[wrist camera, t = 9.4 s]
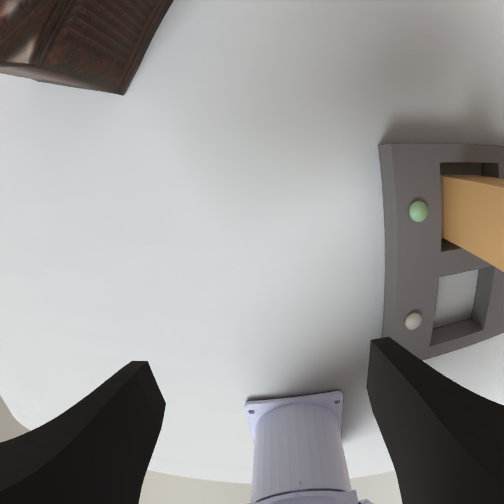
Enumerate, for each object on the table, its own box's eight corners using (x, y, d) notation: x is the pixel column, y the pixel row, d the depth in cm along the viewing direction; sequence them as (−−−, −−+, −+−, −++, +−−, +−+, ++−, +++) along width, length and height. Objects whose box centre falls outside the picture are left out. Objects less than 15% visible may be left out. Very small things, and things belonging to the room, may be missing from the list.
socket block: (493, 321, 19) (507, 333, 17) (380, 353, 20) (389, 371, 18) (506, 147, 15) (525, 148, 13) (377, 144, 16) (393, 143, 14)
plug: (475, 228, 17) (558, 268, 9) (435, 233, 18) (519, 281, 9) (475, 174, 16) (565, 192, 8) (433, 175, 16) (528, 193, 8)
